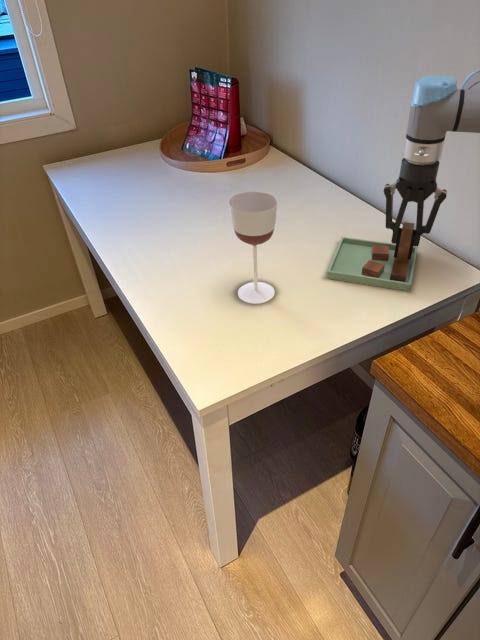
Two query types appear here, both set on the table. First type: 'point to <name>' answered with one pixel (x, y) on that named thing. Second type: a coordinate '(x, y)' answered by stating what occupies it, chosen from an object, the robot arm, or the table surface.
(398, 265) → the brown piece
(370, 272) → the chip
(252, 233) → the wineglass
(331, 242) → the table surface
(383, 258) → the chip
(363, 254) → the tray
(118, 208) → the table surface
